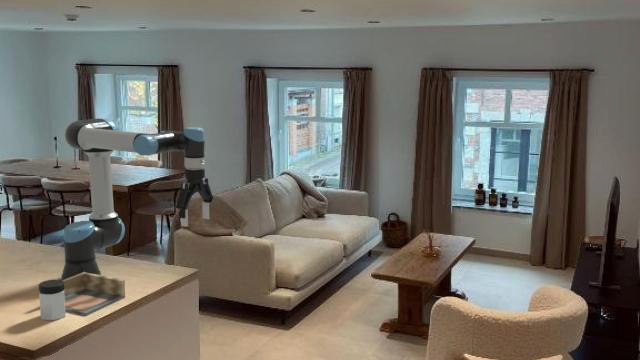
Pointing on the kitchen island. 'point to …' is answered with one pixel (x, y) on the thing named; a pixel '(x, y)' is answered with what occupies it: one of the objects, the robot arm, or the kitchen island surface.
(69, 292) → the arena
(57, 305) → the jar
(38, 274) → the kitchen island surface
